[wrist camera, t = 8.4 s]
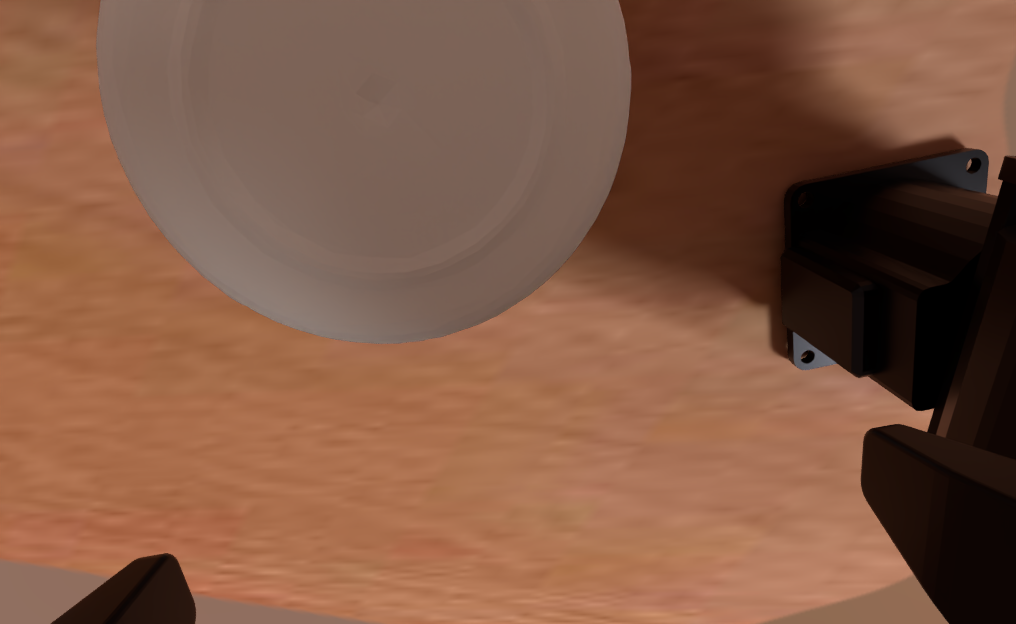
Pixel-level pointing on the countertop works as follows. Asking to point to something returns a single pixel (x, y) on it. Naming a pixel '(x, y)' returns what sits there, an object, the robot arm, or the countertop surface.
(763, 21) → the countertop surface
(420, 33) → the sprinkles bottle
